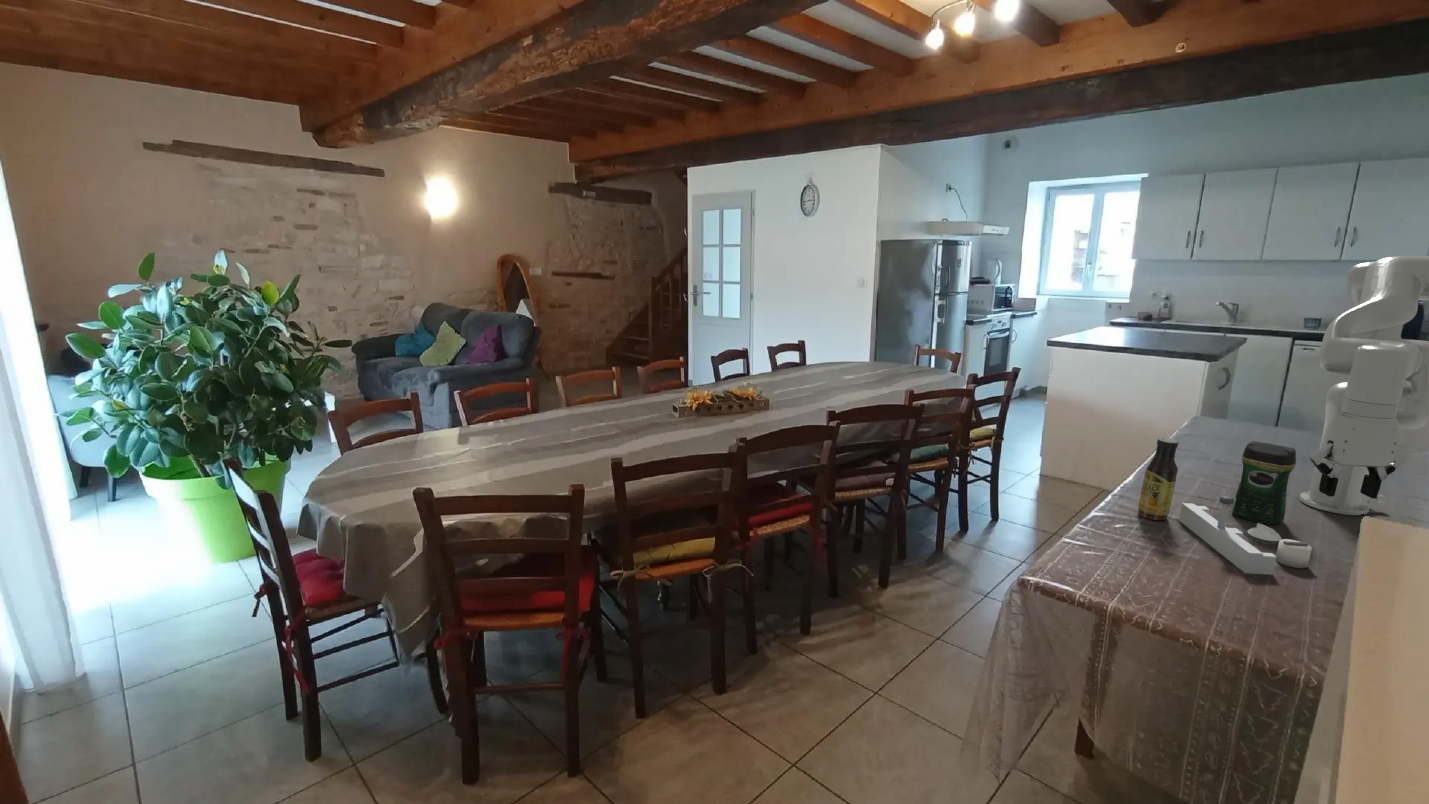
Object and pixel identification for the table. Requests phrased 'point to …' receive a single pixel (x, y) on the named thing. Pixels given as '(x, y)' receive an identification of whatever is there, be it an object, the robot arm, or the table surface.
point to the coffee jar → (1264, 482)
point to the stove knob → (1263, 534)
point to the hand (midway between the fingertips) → (1347, 494)
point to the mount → (1226, 537)
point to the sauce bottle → (1159, 481)
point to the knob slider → (1293, 553)
